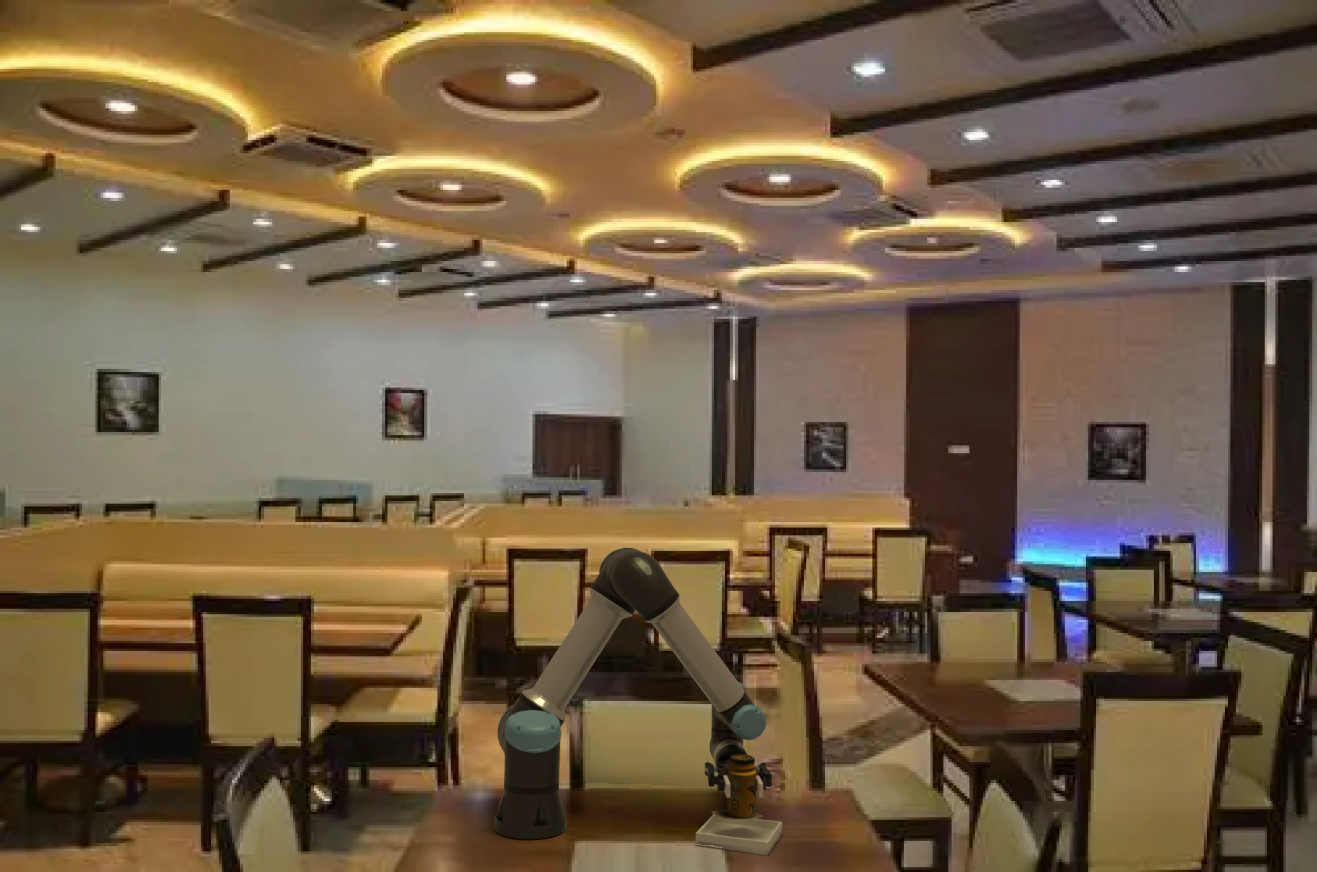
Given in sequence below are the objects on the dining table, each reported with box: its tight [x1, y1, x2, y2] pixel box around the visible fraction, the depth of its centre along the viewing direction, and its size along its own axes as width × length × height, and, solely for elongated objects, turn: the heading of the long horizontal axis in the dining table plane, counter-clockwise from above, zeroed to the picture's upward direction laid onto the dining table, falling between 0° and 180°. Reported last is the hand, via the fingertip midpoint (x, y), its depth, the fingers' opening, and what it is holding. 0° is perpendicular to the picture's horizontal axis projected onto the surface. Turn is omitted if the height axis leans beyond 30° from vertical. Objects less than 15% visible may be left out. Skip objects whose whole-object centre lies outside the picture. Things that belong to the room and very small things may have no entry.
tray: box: [695, 813, 783, 856], centre depth 229 cm, size 15×14×2 cm
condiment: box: [711, 754, 764, 822], centre depth 229 cm, size 7×8×12 cm
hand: (744, 790), depth 224 cm, fingers closed on condiment, 6 cm apart
